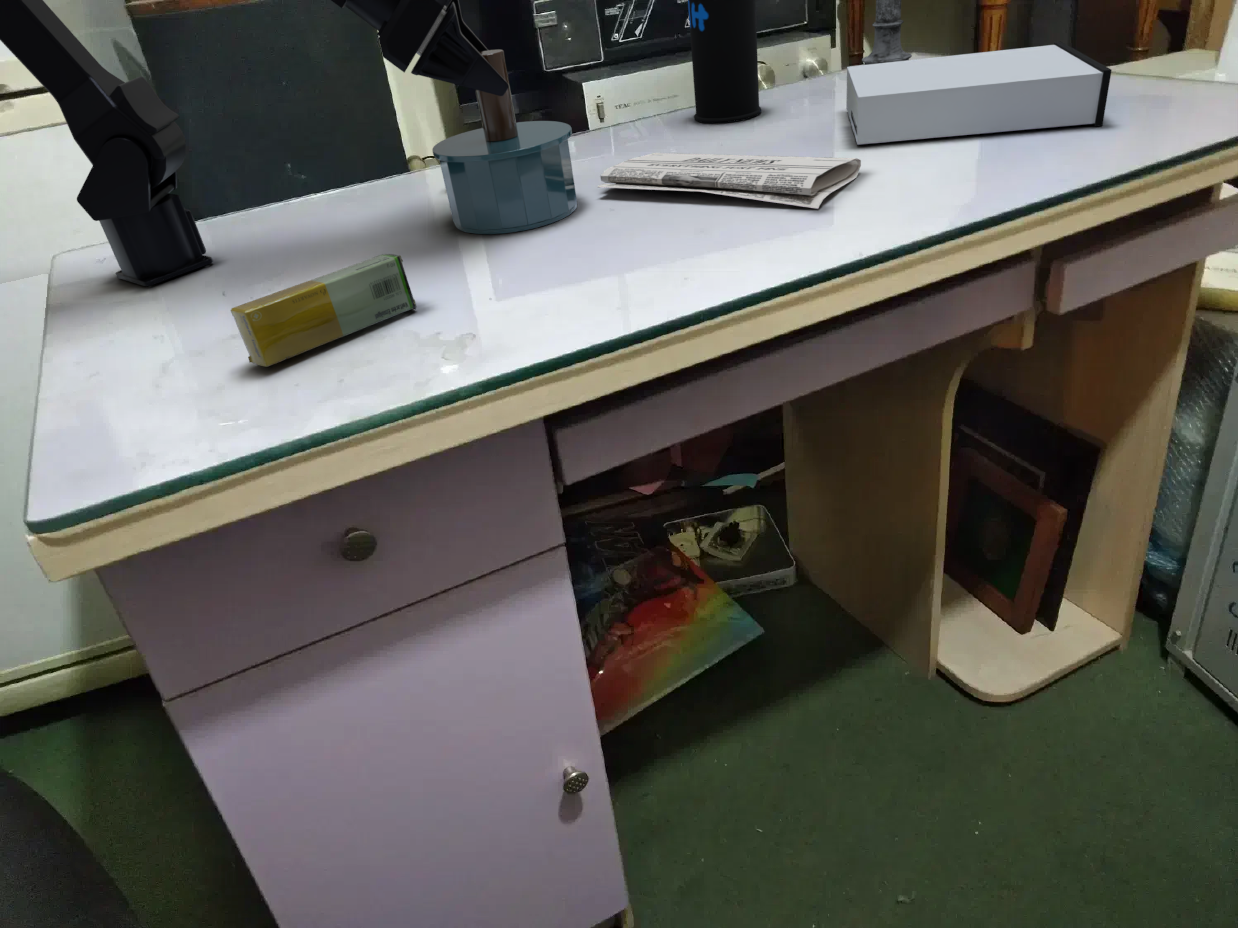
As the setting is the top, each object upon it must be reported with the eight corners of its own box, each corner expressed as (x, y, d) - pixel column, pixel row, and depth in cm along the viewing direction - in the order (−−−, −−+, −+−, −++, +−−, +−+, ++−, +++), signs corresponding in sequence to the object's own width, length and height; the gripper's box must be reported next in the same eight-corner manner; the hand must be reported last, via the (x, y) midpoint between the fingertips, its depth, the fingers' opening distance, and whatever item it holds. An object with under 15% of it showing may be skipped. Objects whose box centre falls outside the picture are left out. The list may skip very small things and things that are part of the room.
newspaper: (590, 198, 83) (588, 170, 82) (661, 175, 92) (660, 150, 90) (810, 212, 71) (811, 180, 69) (869, 185, 79) (870, 156, 78)
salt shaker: (902, 92, 106) (907, -20, 99) (854, 94, 108) (856, -15, 102) (916, 82, 110) (921, -26, 103) (869, 84, 112) (872, -22, 106)
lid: (502, 174, 71) (482, 67, 67) (406, 165, 79) (382, 68, 74) (601, 135, 79) (588, 37, 75) (505, 131, 86) (489, 41, 82)
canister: (515, 240, 75) (501, 164, 71) (429, 227, 82) (412, 157, 78) (602, 200, 82) (592, 129, 79) (516, 191, 89) (504, 126, 85)
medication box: (400, 304, 65) (384, 252, 63) (419, 308, 63) (403, 253, 62) (249, 363, 58) (226, 306, 57) (265, 369, 56) (242, 310, 55)
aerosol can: (761, 105, 109) (755, -81, 99) (761, 119, 103) (754, -79, 92) (696, 112, 111) (683, -71, 100) (691, 126, 104) (677, -68, 94)
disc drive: (1103, 126, 82) (1113, 68, 80) (857, 147, 87) (858, 94, 84) (1055, 90, 97) (1061, 41, 94) (846, 111, 101) (846, 64, 98)
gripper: (381, -150, 59) (568, 7, 65) (401, -132, 75) (550, -7, 81) (302, -1, 63) (486, 134, 69) (337, -14, 78) (484, 96, 85)
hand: (504, 83), depth 76 cm, fingers open, 9 cm apart
